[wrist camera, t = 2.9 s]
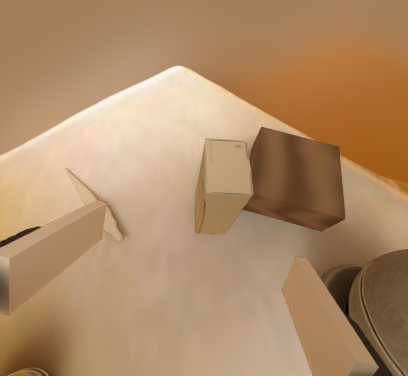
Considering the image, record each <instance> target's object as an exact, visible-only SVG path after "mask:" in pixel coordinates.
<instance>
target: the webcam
mask: <svg viewBox="0 0 408 376" xmlns="http://www.w3.org/2000/svg"><path fill="white" fill-rule="evenodd" d="M320 279H321V280H322V282H323V283H324V285H325V286H326V288H327V289H328V291H329V293H330V294H331V296H332V297H333V299H334V300H335V302H336V303H337V305H338V306H339V308H340V309H341V311H342V312H343V313H344V314H348V315H349V316H350V317H351V318H352V319H353V320H354V321H355V322H356V323H357V324H358V325H359V327H360V328H361V330H362V331H363V333H364V334H365V337H367V338H368V340H369V341H370V343H371V345H372V346H373V347H374V348H375V350H376V351H377V353H378V354H379V356H380V357H381V359H382V360H383V361H384V363H385V364H386V366H387V367H388V369H389V370H390V371H391V373H392V374H393V376H408V249H406V250H399V251H394V252H391V253H387V254H385V255H382V256H380V257H378V258H376V259H374V260H373V261H371V262H369V263H368V264H367V265H366V266H364V265H358V264H348V265H342V266H338V267H335V268H332V269H330V270H329V271H327V272H326V273H325V274H323V276H322V277H321V278H320Z"/></svg>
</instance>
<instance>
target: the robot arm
mask: <svg viewBox="0 0 408 376" xmlns="http://www.w3.org/2000/svg"><path fill="white" fill-rule="evenodd" d="M106 206H107V203H105V202H101V201H98V200H95V201H93V202H91V203H89V204H87V205H85V206H83V207H81V208H79V209H77V210H75V211H73V212H71V213H69V214H67V215H65V216H63V217H61V218H59V219H57V220H55V221H53V222H51V223H49V224H47V225H45V226H43V227H39V226H38V227H34V228H30V229H26V230H24V231H22V232H20V233H18V234H16V235H14V236H11V237H9V238H7V240H3V241H1V242H0V313H2V314H6V315H11V314H12V313H13V312H14V311H15V310H17V309H18V308H19V307H20V306H21V305H23V304H24V303H25V302H26V301H27V300H29V299H30V298H31V297H32V296H33V295H35V294H36V293H37V292H38V291H39V290H41V289H42V288H43V287H44V286H45V285H47V284H48V283H49V282H50V281H51V280H53V279H54V278H55V277H56V276H57V275H59V274H60V273H61V272H62V271H64V270H65V269H66V268H67V267H68V266H70V265H71V264H72V263H73V262H74V261H76V260H77V259H78V258H79V257H80V256H82V255H83V254H84V253H85V252H86V251H88V250H89V249H90V248H91V247H92V246H94V245H95V244H96V243H97V242H98V241H100V240H101V239H102V235H103V228H104V221H105V213H106ZM282 292H283V295H284V297H285V300H286V303H287V306H288V308H289V311H290V314H291V317H292V319H293V322H294V325H295V328H296V331H297V333H298V336H299V339H300V342H301V344H302V347H303V350H304V353H305V355H306V358H307V361H308V364H309V367H310V369H311V372H312V375H313V376H393V374H392V373H391V371H390V370H389V369H388V367H387V366H386V364H385V363H384V361H383V360H382V359H381V357H380V356H379V354H378V353H377V351H376V350H375V348H374V347H373V346H372V345H371V343H370V341H369V340H368V338H367V337H365V334H364V333H363V331H362V330H361V328H360V327H359V325H358V324H357V323H356V322H355V321H354V320H353V319H352V318H351V317H350V316H349V315H348V314H344V313H343V312H342V311H341V309H340V308H339V306H338V305H337V303H336V302H335V300H334V299H333V297H332V296H331V294H330V293H329V291H328V289H327V288H326V286H325V285H324V283H323V282H322V280H321V279H320V277H319V276H318V274H317V273H316V271H315V270H314V268H313V267H312V265H311V264H310V262H309V261H308V259H305V258H301V257H298V256H296V258H295V260H294V262H293V265H292V267H291V270H290V272H289V274H288V277H287V279H286V281H285V284H284V286H283V288H282Z"/></svg>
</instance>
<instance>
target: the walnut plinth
mask: <svg viewBox="0 0 408 376" xmlns="http://www.w3.org/2000/svg"><path fill="white" fill-rule="evenodd" d="M250 167H251V175H252V184H253V195H252V197H251V198H250V199H249V201H248V202H247V204H246V205H245V206H244V208H243V210H247V211H250V212H254V213H258V214H261V215H265V216H268V217H272V218H276V219H279V220H283V221H286V222H290V223H294V224H297V225H301V226H304V227H308V228H312V229H315V230H319V231H323V230H325V229H327V228H329V227H331V226H333V225H335V224H337V223H338V222H340V221H342V220H344V219H345V209H344V197H343V186H342V175H341V164H340V153H339V147H337V146H333V145H329V144H326V143H322V142H318V141H314V140H310V139H307V138H303V137H299V136H295V135H291V134H287V133H284V132H280V131H276V130H272V129H268V128H264V127H261V129H260V131H259V133H258V136H257V138H256V140H255V142H254V144H253V147H252V150H251V156H250Z"/></svg>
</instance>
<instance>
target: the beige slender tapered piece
mask: <svg viewBox="0 0 408 376" xmlns="http://www.w3.org/2000/svg"><path fill="white" fill-rule="evenodd" d="M65 170H66V172H67V174H68V175H69V177H70V179H71V181H72V183H73V185H74V186H75V188H76V190H77V193H78V194H79V196H80V198H81V200H82V201H83V203H84V204H85V205H87V204H89V203H91V202H93V201H95V200H98V199H97V198H96V197H95V195H94V194H93V193H92V192H91V191H90V190H89V189H88V188H87V187H85V186H84V185H83V184H82V183H81V182H80V181H79V180H78V179H77V178H75V177H74V176H73V175H72V174H71V173H70V172H69V171H68V170H67V169H66V168H65ZM98 201H99V200H98ZM101 202H102V201H101ZM103 231H104V232H108V233H110V234H111V235H112V236H113V237H114V239H115V240H117V241H118V242H119V241H120V242H121V240H123V236H122V233H121V232H120V231H119V229H118V227H117V221H116V219H115V218H114V217H113V215H112V212H111V209H110V208H109V207H108V205H107V206H106V213H105V221H104V228H103Z"/></svg>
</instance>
